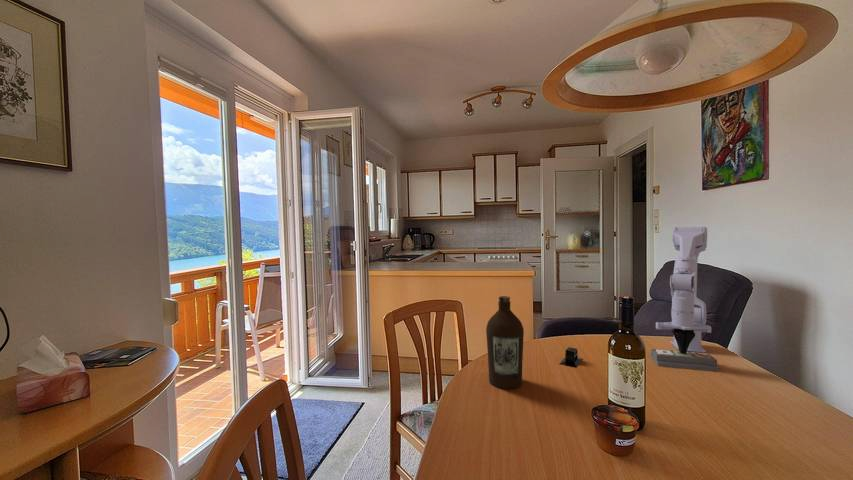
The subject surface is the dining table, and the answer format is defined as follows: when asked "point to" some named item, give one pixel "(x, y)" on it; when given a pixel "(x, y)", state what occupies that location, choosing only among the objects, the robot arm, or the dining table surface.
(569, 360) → the black block
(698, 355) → the key three pip
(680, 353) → the key two pip
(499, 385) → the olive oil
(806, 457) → the dining table surface
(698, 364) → the keypad base
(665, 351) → the key one pip
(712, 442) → the dining table surface
